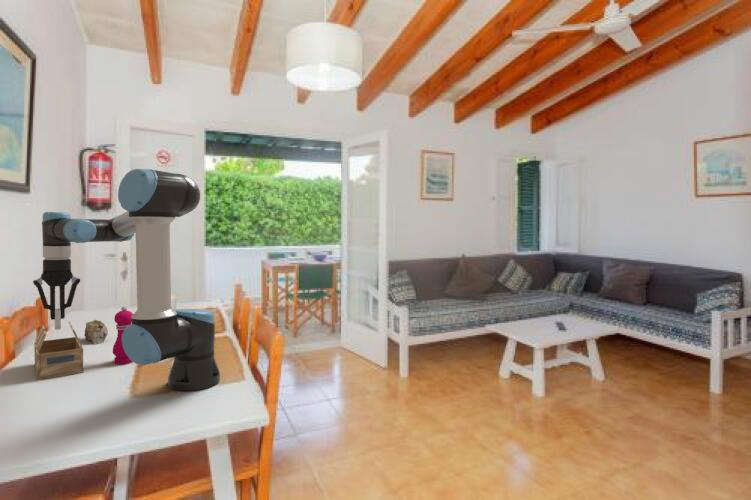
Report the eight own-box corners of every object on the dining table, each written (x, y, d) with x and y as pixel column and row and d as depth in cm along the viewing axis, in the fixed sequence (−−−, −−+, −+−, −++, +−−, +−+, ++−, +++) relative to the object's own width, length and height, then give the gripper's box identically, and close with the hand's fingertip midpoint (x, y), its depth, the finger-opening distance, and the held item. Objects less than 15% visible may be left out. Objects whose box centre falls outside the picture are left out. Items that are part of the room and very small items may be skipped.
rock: (112, 339, 178) (106, 315, 178) (94, 344, 173) (88, 320, 174) (104, 342, 186) (98, 320, 187) (87, 347, 181) (80, 324, 182)
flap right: (80, 346, 142) (81, 345, 142) (73, 331, 140) (74, 331, 140) (74, 335, 154) (76, 335, 154) (68, 322, 153) (69, 321, 153)
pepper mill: (125, 365, 149) (125, 308, 148) (107, 364, 151) (107, 307, 150) (140, 359, 157) (140, 305, 155) (123, 357, 158) (123, 303, 157)
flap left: (46, 334, 136) (44, 334, 135) (39, 351, 135) (37, 351, 135) (43, 324, 148) (42, 324, 148) (36, 340, 147) (35, 340, 147)
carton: (83, 372, 142) (83, 348, 141) (37, 380, 134) (36, 355, 133) (76, 358, 156) (76, 336, 156) (34, 364, 148) (34, 341, 148)
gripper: (79, 257, 150) (79, 324, 151) (31, 258, 142) (32, 328, 143) (82, 259, 144) (82, 328, 146) (32, 260, 136) (33, 333, 137)
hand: (57, 328), depth 144 cm, fingers closed
